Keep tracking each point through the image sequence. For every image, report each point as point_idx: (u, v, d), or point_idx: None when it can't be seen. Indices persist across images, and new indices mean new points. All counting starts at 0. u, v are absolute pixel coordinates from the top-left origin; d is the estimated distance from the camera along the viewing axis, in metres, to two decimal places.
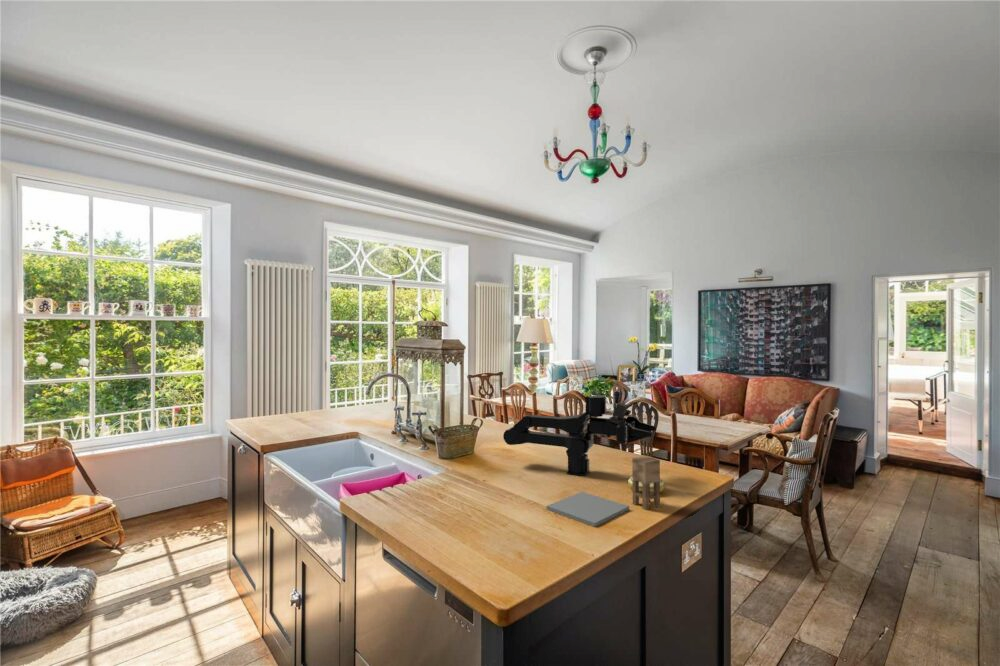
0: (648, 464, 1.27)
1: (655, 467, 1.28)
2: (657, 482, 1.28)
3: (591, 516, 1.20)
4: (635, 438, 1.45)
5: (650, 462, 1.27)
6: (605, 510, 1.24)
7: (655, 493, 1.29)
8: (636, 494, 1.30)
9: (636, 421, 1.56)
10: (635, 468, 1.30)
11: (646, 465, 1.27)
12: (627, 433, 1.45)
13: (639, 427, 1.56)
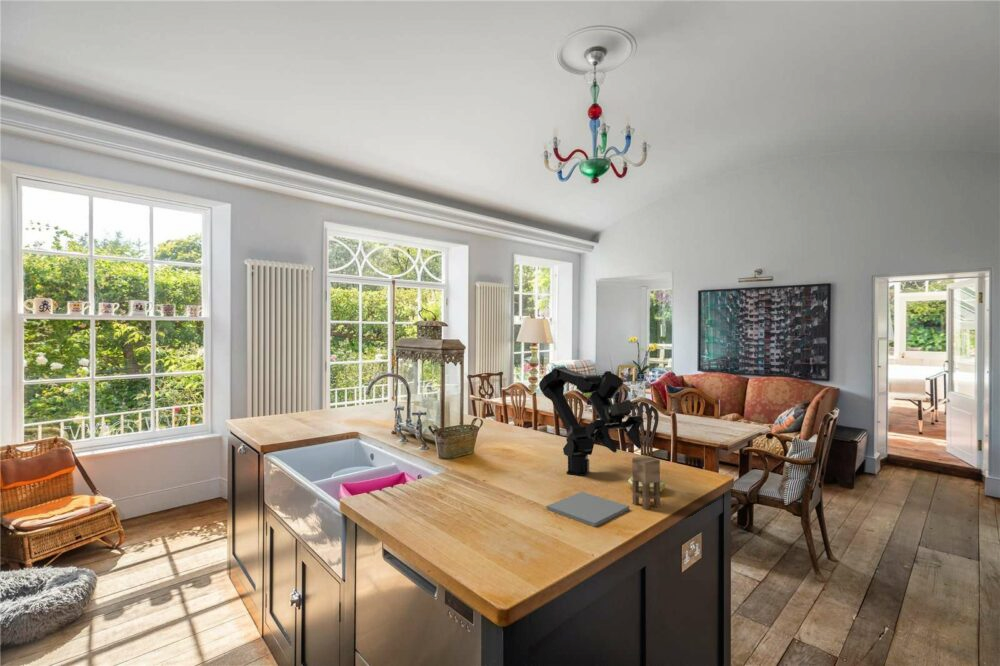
0: (648, 464, 1.27)
1: (655, 467, 1.28)
2: (657, 482, 1.28)
3: (591, 516, 1.20)
4: (601, 441, 1.38)
5: (650, 462, 1.27)
6: (605, 510, 1.24)
7: (655, 493, 1.29)
8: (636, 494, 1.30)
9: (633, 427, 1.42)
10: (635, 468, 1.30)
11: (646, 465, 1.27)
12: (596, 433, 1.38)
13: (631, 433, 1.42)
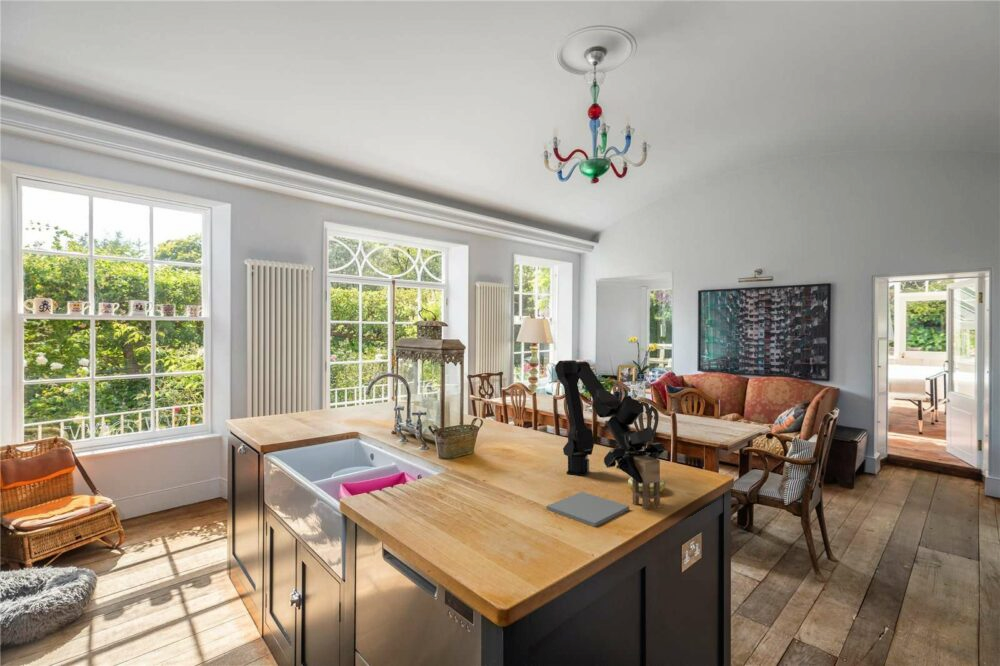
0: (648, 464, 1.27)
1: (655, 467, 1.28)
2: (657, 482, 1.28)
3: (591, 516, 1.20)
4: (626, 471, 1.31)
5: (650, 462, 1.27)
6: (605, 510, 1.24)
7: (655, 493, 1.29)
8: (636, 494, 1.30)
9: (649, 456, 1.33)
10: None
11: (646, 465, 1.27)
12: (620, 462, 1.30)
13: None
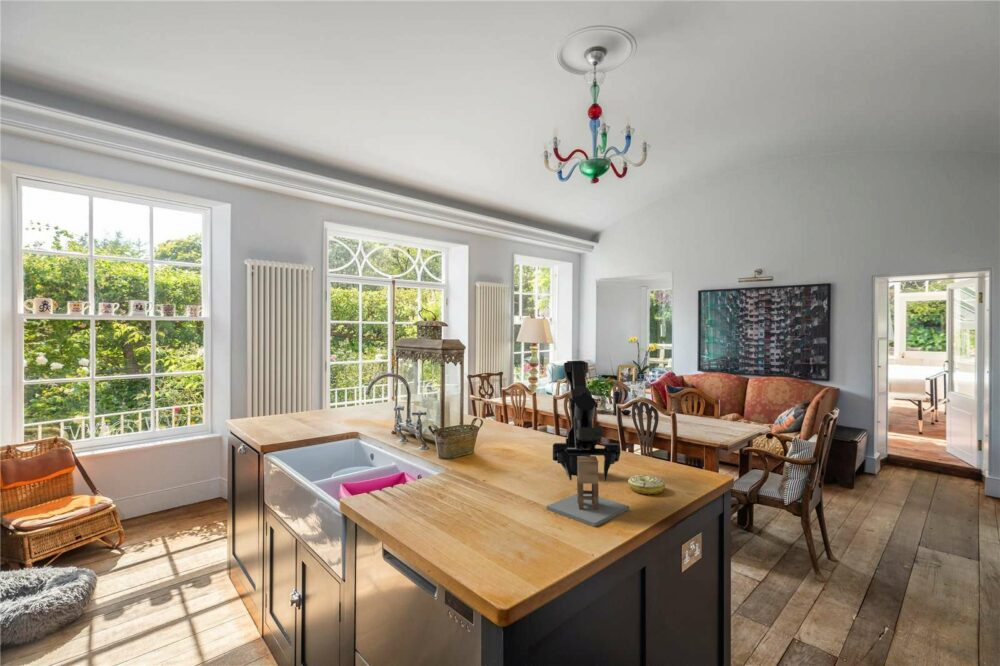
0: (582, 463, 1.25)
1: (592, 468, 1.24)
2: (595, 484, 1.24)
3: (591, 516, 1.20)
4: (564, 466, 1.31)
5: (585, 462, 1.25)
6: (605, 510, 1.24)
7: (593, 495, 1.25)
8: (578, 493, 1.28)
9: (605, 456, 1.28)
10: (577, 466, 1.29)
11: (580, 464, 1.25)
12: None
13: (604, 462, 1.29)
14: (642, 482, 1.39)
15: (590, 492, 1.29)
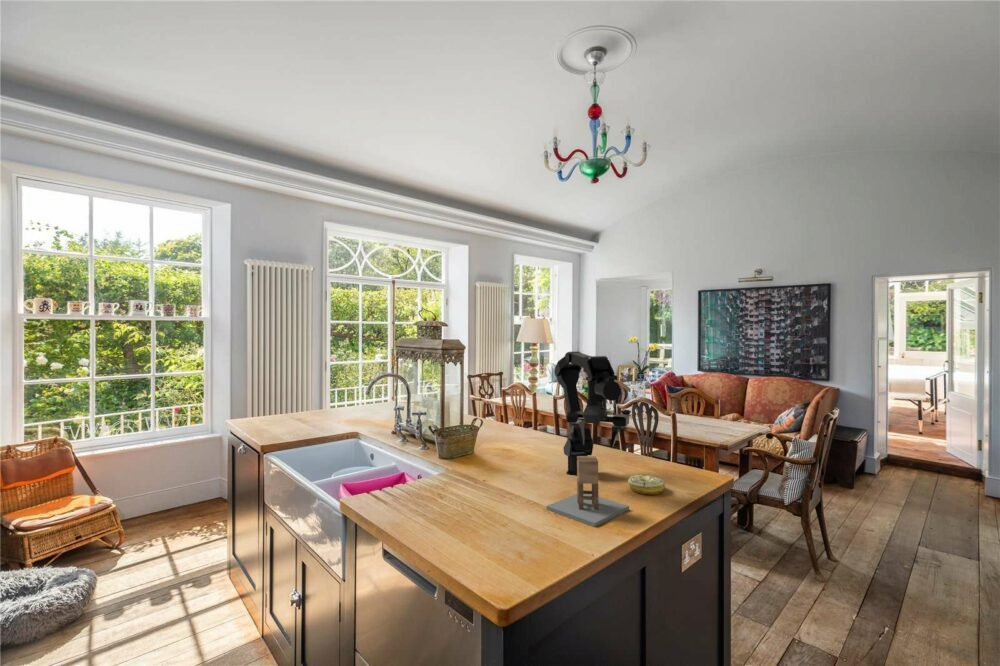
0: (582, 463, 1.25)
1: (592, 468, 1.24)
2: (595, 484, 1.24)
3: (591, 516, 1.20)
4: None
5: (585, 462, 1.25)
6: (605, 510, 1.24)
7: (593, 495, 1.25)
8: (578, 493, 1.28)
9: (612, 428, 1.41)
10: (577, 466, 1.29)
11: (580, 464, 1.25)
12: None
13: None
14: (642, 482, 1.39)
15: (590, 492, 1.29)
